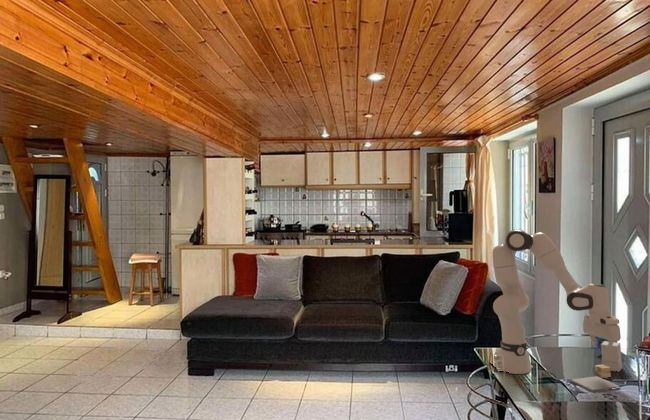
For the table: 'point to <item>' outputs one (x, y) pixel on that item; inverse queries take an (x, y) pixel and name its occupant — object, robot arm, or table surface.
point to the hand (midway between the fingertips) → (602, 346)
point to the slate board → (594, 383)
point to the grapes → (600, 342)
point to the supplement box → (611, 356)
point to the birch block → (602, 371)
